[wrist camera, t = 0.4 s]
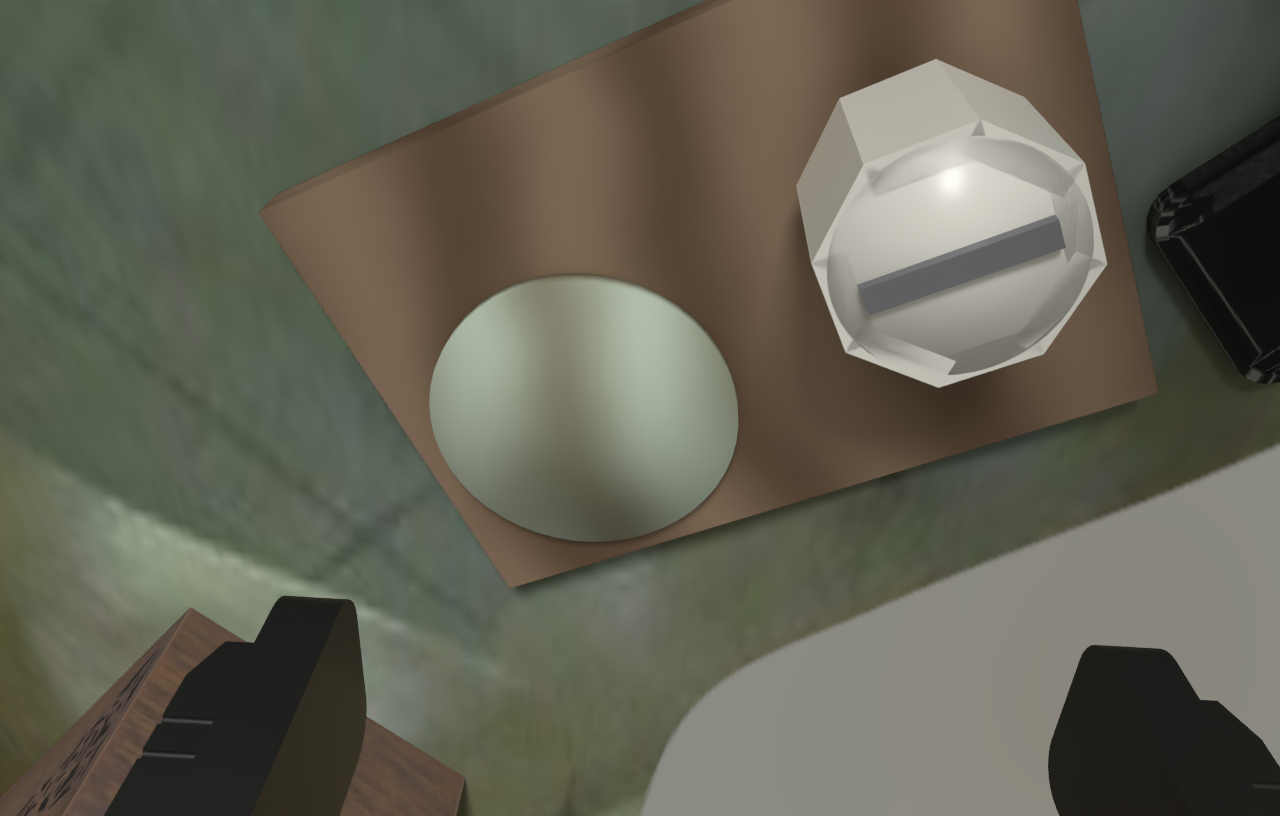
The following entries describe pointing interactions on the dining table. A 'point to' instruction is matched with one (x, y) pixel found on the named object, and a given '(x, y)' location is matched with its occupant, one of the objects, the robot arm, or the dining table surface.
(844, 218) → the cap
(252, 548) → the dining table surface
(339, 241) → the board
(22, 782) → the tissue box cover
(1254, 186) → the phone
